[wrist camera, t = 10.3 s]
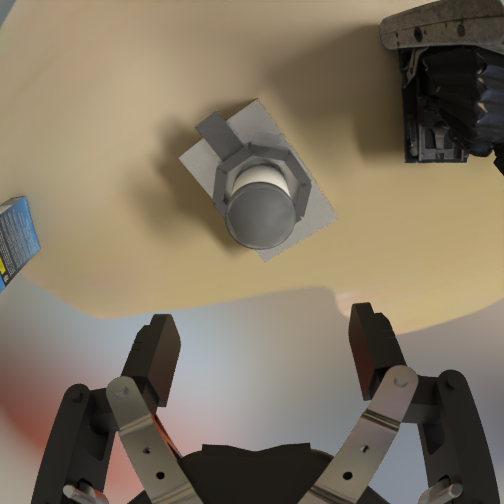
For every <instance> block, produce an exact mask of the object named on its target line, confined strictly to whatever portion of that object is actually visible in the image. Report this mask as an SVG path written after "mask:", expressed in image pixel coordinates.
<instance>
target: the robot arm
mask: <svg viewBox="0 0 504 504" xmlns="http://www.w3.org/2000/svg"><path fill="white" fill-rule="evenodd" d="M348 333H349V342H350V346H351V349H352V353H353V357H354V362H355V366H356V370H357V373H358V378H359V382H360V387H361V391H362V396H363V400H364V401H367V400H371V402H370V404H369V406H368V407H367V409H366V411H365V412H363V414H362V415H361V417H360V418H359V420H358V422H357V423H356V425H355V426H354V428H353V430H352V431H351V433H350V434H349V436H348V437H347V439H346V440H345V442H344V443H343V445H342V447H341V448H340V450H339V451H338V453H337V454H336V455H335V457H334V456H332V455H330V454H328V453H326V452H323V451H319V450H316V449H311V448H310V443H301V444H287V445H281V446H277V447H273V448H269V449H265V450H261V451H249V450H245V449H241V448H236V447H232V446H228V445H207V444H203V445H202V450H201V451H197V452H193V453H191V454H188V455H186V456H184V457H183V456H182V455H181V453H180V452H179V451H178V449H177V448H176V446H175V445H174V443H173V442H172V440H171V438H170V437H169V435H168V433H167V432H166V430H165V428H164V426H163V425H162V423H161V421H160V419H159V418H158V416H157V414H156V411H157V407H166V405H167V401H168V397H169V392H170V388H171V384H172V380H173V376H174V372H175V368H176V364H177V360H178V356H179V352H180V347H181V341H180V336H179V334H178V331H177V328H176V326H175V323H174V320H173V317H172V315H170V314H154V316H153V318H152V320H151V322H150V325H144V326H143V328H142V329H141V330H140V331H139V332H138V333H137V335H136V338H135V340H134V344H133V345H132V348H131V351H130V353H129V355H128V358H127V361H126V363H125V366H124V369H123V371H122V374H121V376H120V377H117V378H115V379H113V380H112V381H111V382H110V383H109V384H108V386H107V388H102V389H96V390H89V389H88V387H87V386H85V385H84V384H75V385H72V386H71V387H69V388H68V389H67V391H66V392H65V394H64V397H63V399H62V402H61V405H60V407H59V410H58V413H57V416H56V418H55V421H54V424H53V427H52V430H51V433H50V436H49V439H48V442H47V445H46V448H45V452H44V455H43V458H42V462H41V466H40V469H39V472H38V476H37V480H36V484H35V488H34V492H33V496H32V500H31V504H109V501H108V499H107V498H106V496H105V495H104V494H103V490H104V485H105V479H106V474H107V469H108V464H109V460H110V455H111V451H112V446H113V442H114V437H115V433H116V431H119V432H118V434H119V437H120V440H121V442H122V444H123V447H124V449H125V451H126V453H127V455H128V457H129V459H130V462H131V464H132V466H133V467H134V470H135V472H136V474H137V476H138V478H139V479H140V481H141V483H142V485H143V487H144V489H145V490H143V491H142V492H141V493H140V494H138V495H137V496H136V497H135V498H134V499H132V500H131V501H130V502H129V503H127V504H390V503H389V502H387V501H386V500H385V499H384V498H382V497H381V496H380V495H379V494H378V493H376V492H375V491H374V490H373V489H372V488H370V487H369V486H368V484H369V482H370V481H371V479H372V478H373V476H374V474H375V473H376V471H377V469H378V467H379V466H380V464H381V462H382V460H383V459H384V457H385V455H386V453H387V451H388V450H389V448H390V446H391V444H392V442H393V440H394V438H395V436H396V434H397V432H398V430H399V428H400V423H401V422H404V423H417V425H418V430H419V435H420V440H421V445H422V450H423V456H424V461H425V467H426V473H427V480H428V487H429V488H428V489H427V490H426V491H424V492H423V493H422V495H421V496H420V498H419V500H418V504H500V499H499V493H498V487H497V482H496V477H495V473H494V468H493V464H492V460H491V456H490V452H489V448H488V444H487V441H486V437H485V434H484V430H483V427H482V424H481V420H480V417H479V414H478V411H477V408H476V405H475V403H474V399H473V397H472V394H471V391H470V388H469V386H468V383H467V381H466V378H465V377H464V376H463V375H462V374H461V373H460V372H458V371H456V370H446V371H444V372H442V373H441V374H440V375H439V377H427V376H420V375H417V374H416V372H415V371H414V370H413V369H411V368H410V367H408V366H407V365H406V362H405V360H404V357H403V354H402V352H401V349H400V346H399V344H398V341H397V339H396V338H395V334H394V331H393V330H392V326H391V324H390V322H389V320H388V319H387V318H386V317H385V316H384V315H383V314H382V313H374V312H373V309H372V306H371V304H370V303H369V302H366V303H357V304H353V305H352V309H351V316H350V322H349V332H348Z"/></svg>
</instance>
